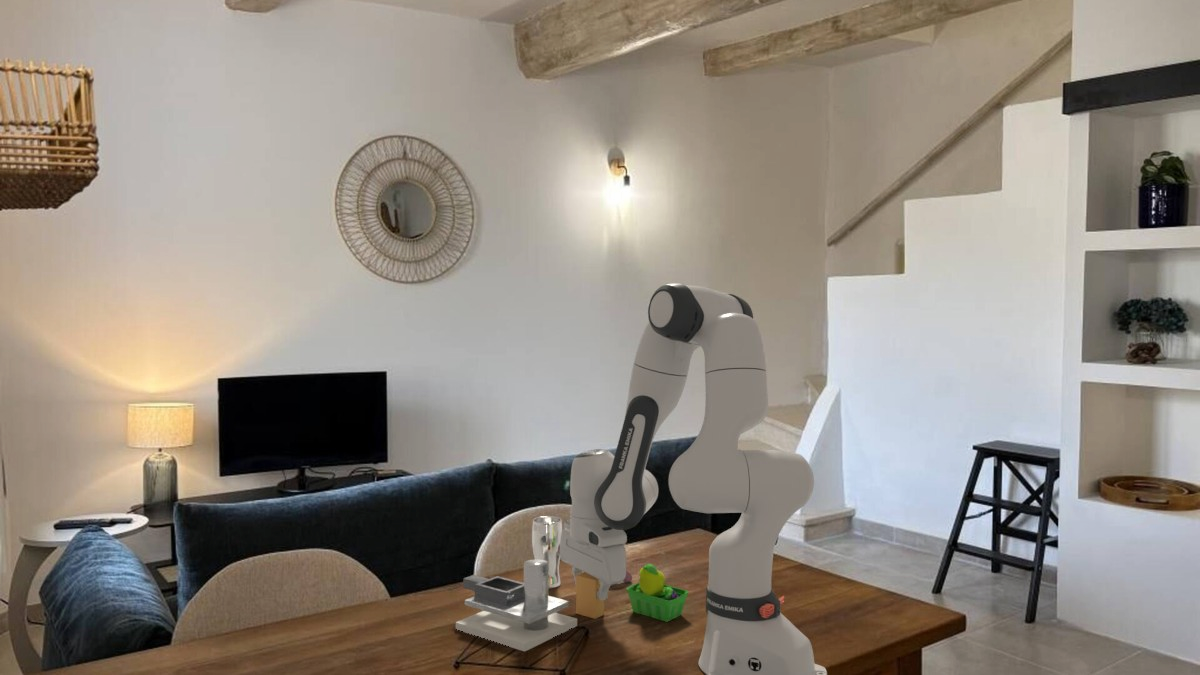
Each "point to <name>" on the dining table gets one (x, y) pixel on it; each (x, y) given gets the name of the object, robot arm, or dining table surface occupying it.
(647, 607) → the fruit basket
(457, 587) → the dining table surface
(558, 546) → the beer glass
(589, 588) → the wedge
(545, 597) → the grey metal fixture
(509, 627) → the board
